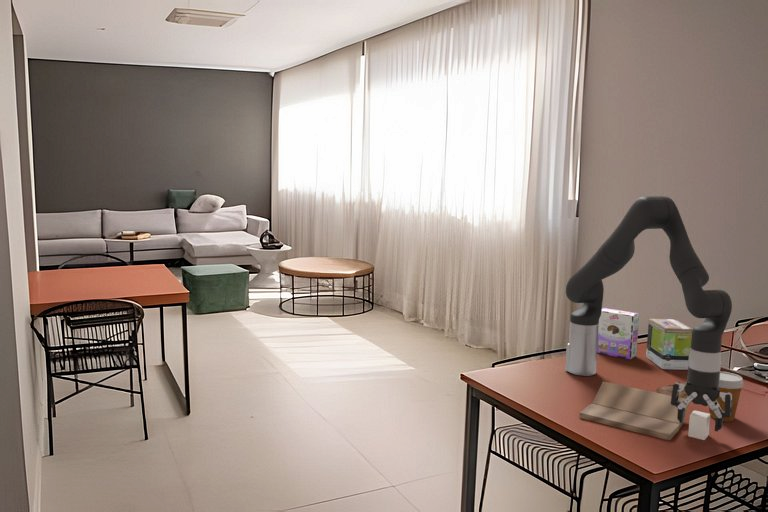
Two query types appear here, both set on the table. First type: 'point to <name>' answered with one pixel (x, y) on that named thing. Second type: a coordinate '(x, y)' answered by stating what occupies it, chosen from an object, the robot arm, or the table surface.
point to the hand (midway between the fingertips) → (699, 426)
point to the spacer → (699, 425)
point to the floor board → (630, 421)
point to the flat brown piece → (668, 391)
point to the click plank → (638, 402)
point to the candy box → (618, 333)
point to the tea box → (669, 343)
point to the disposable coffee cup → (729, 384)
